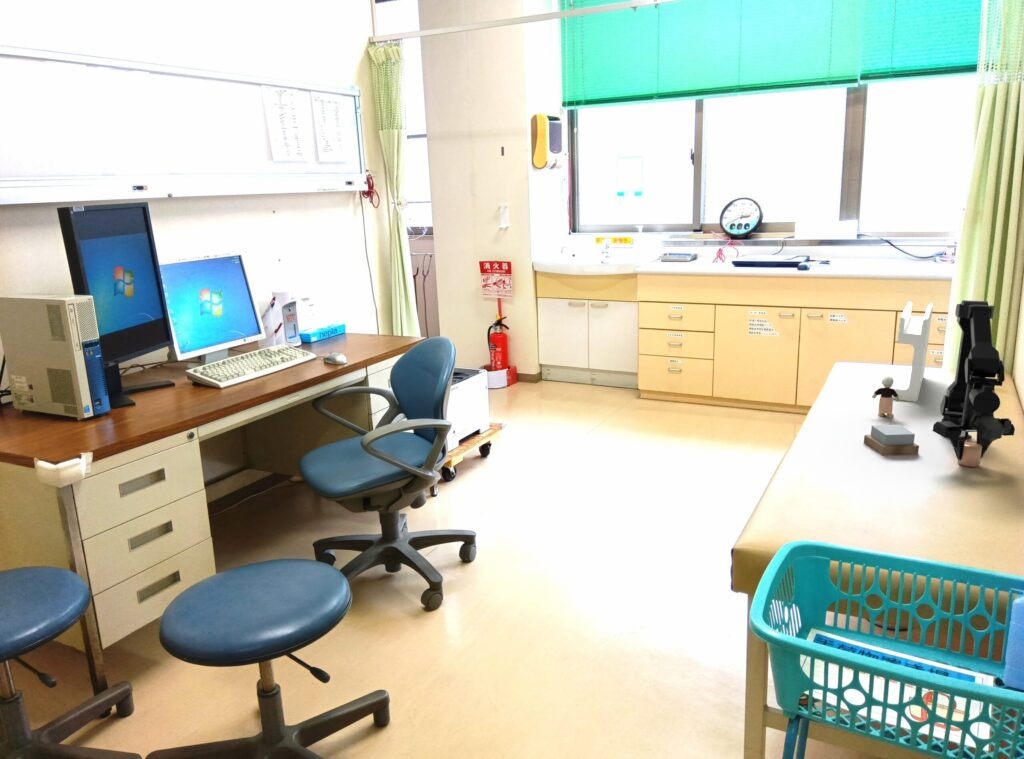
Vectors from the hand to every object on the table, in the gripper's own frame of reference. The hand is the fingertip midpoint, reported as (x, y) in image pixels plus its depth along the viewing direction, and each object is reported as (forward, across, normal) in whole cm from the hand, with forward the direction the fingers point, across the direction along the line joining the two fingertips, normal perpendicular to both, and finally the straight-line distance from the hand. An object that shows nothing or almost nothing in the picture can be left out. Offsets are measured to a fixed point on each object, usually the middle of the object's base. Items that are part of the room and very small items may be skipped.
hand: (968, 459), depth 198 cm
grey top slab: (-1, -13, +14) cm, 19 cm away
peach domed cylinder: (+1, 0, 0) cm, 1 cm away
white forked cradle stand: (+2, +27, +71) cm, 76 cm away
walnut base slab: (+2, -13, +14) cm, 19 cm away
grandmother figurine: (+2, +1, +42) cm, 42 cm away
